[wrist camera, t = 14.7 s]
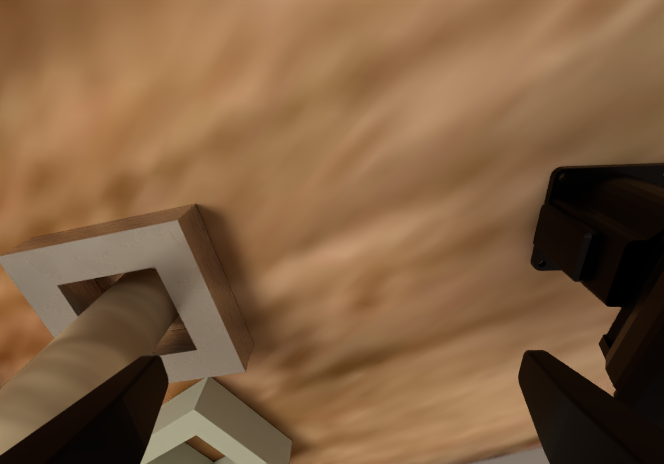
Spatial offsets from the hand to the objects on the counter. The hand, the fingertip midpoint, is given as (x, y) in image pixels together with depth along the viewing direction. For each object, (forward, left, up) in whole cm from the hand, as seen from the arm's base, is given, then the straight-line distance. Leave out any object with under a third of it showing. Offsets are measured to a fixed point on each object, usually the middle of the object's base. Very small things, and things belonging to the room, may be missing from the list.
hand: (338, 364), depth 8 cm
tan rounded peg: (+14, +7, -13) cm, 20 cm away
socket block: (+14, +7, -13) cm, 20 cm away
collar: (+12, +22, -13) cm, 28 cm away
